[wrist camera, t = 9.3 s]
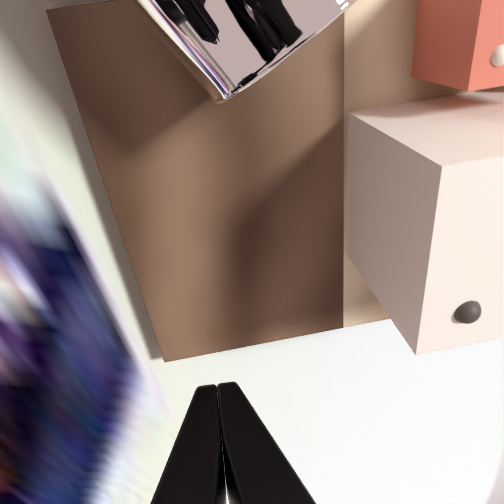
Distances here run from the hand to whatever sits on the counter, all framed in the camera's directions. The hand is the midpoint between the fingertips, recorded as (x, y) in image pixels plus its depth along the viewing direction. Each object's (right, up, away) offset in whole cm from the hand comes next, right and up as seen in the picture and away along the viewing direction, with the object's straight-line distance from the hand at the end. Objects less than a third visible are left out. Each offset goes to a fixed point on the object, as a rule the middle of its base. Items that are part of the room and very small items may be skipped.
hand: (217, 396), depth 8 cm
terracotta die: (+9, +13, +8) cm, 18 cm away
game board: (+4, +6, +12) cm, 14 cm away
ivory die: (+9, +7, +11) cm, 16 cm away
